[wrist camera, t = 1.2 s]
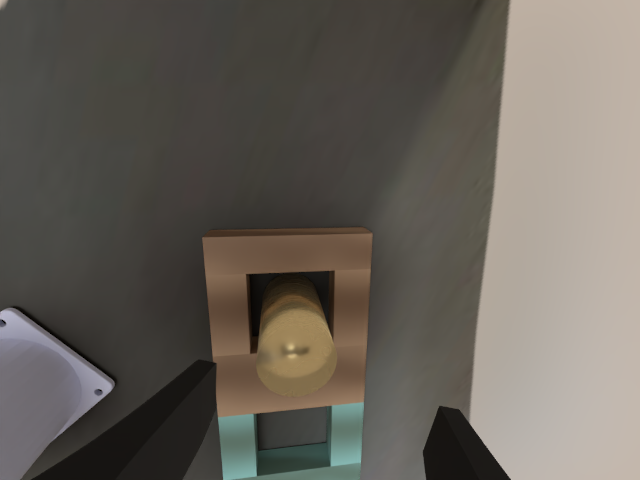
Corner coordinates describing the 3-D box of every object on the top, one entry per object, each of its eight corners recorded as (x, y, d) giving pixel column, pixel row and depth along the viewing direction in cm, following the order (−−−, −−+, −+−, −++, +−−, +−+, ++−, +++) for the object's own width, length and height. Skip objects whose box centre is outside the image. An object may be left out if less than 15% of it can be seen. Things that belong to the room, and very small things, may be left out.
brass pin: (287, 333, 21) (292, 410, 15) (250, 297, 20) (238, 362, 14) (328, 300, 21) (352, 362, 15) (293, 262, 20) (302, 310, 14)
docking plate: (353, 461, 25) (359, 486, 23) (229, 477, 24) (225, 505, 22) (363, 227, 20) (372, 233, 18) (209, 230, 19) (202, 237, 17)
